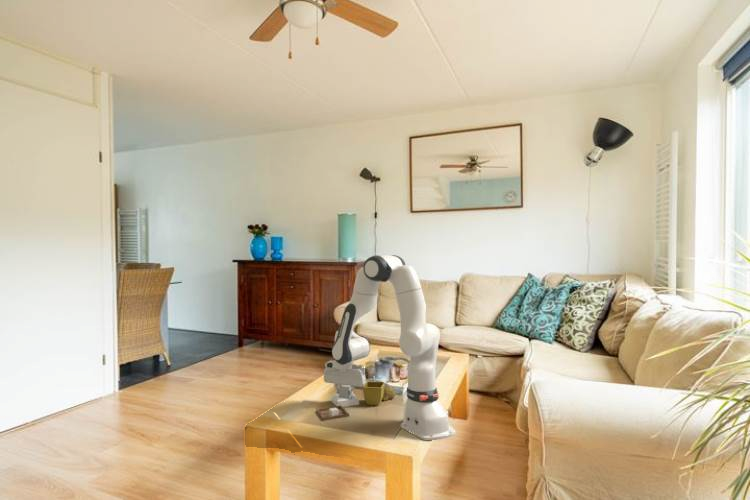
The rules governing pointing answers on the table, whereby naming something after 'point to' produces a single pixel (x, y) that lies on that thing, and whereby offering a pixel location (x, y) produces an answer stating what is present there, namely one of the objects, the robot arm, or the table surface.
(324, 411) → the gravel tray
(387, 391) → the seashell
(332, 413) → the small pebble
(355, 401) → the grey bin
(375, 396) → the flower pot
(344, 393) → the pebble
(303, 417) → the table surface
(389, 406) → the table surface
